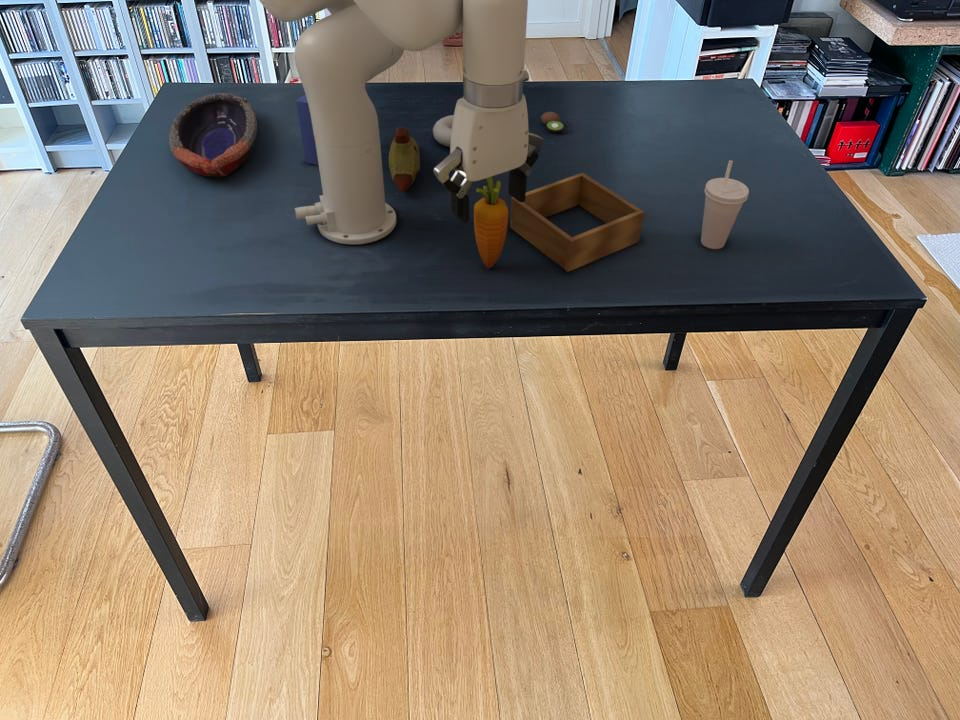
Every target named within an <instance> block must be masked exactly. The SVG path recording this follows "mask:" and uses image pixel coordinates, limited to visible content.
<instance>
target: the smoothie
mask: <svg viewBox="0 0 960 720" xmlns="http://www.w3.org/2000/svg"><path fill="white" fill-rule="evenodd" d="M732 166H733V160H731V159H729V160H728V163H727V167H726V170H725V174H724V177H716V178H711V179H709V180H708V181H707V182H706V184H705V188H704V190H703V191H704V194H705V198H704V207H703V217H702V226H701V235H700V243H701V245H702V246H704V247H705V248H707V249H711V250H720V249H722V248H724V247H725V245H726V242H727V240H728V238H729V236H730V233H731V231H732V229H733V227H734V225H735V222H736V220H737V218H738V215H739V213H740V211H741V209H742V207H743V204H744V203H745V202H746V201H748V199H749V194H750V190H749V189H750V188H748V186H747V185H746V184H745V183H743V182H741V181H739V180H736V179H733V178H729V177H730V174H731V170H732Z"/></svg>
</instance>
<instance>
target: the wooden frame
mask: <svg viewBox="0 0 960 720" xmlns="http://www.w3.org/2000/svg"><path fill="white" fill-rule="evenodd" d="M510 201H511V203H510V219H509V220H510V222H509V223H510V224H509V228H510V229H511V230H513V231H514V232H515V233H517V234H518V235H519V236H521V237H522V238H523V239H524V240H525V241H527V242H528V243H530V244H531V245H532V246H534V247H535V248H536V249H537V250H539V251H540V252H541V253H543V254H544V255H545V256H546V257H548V258H549V259H550V260H551V261H553V262H554V263H555V264H557V265H558V266H559V267H561V268H562V269H563V270H565V271H566V272H567V273H568V272H571V271H574V270H576V269H578V268H581V267H583V266H585V265H587V264H589V263H593V262H594V261H595V262H596V261H597V260H600V259H602V258H604V257H607V256H608V255H611V254H614V253H616V252H619V251H620V250H623V249H626V248H629V247H630V246H633V245H635V244H637V243H639V242H640V238H641V232H642V227H643V223H644V217H645V211H644V210H643V209H641V208H640V207H638V206H636V205H635V204H634V203H631V202H630V201H628V200H627V199H625V198H624V197H622V196H620V195H619V194H617V193H616V192H614V191H613V190H611V189H609V188H608V187H607V186H605V185H603V184H602V183H600V182H598V180H595V179H593V178H592V177H591V176H589V175H588V174H586V173H584V172H580V173H577V174H574V175H572V176H569V177H566V178H563V179H560V180H558V181H557V180H556V181H555V182H552V183H549V184H546V185H543V186H541V187H537V188H535V189H532V190H529V191H526V196H525V201H524V202H522V203H521V202H519V201H518V200H516V199H515V198H514V197H512V196H511V200H510ZM576 206H579V207H581V209H584V210H585V211H587V212H588V213H590V214H591V215H593V216H594V217H596V218H597V219H599V220H600V221H602V223H604V224H602V225H599V226H597V227H594V228H592V229H589V230H587V231H584V232H581V233H579V234H577V235H574V236H571V235H569V234H568V233H567V232H565V230H562V229H561V228H560V227H558V226H557V225H556V224H554V223H553V222H552V221H550V220H549V219H548V218H547V217H551V216H553V215H556V214H558V213H561V212H564V211H566V210H570V209H572V208H574V207H576Z"/></svg>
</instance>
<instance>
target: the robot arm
mask: <svg viewBox="0 0 960 720" xmlns="http://www.w3.org/2000/svg"><path fill="white" fill-rule="evenodd" d="M258 1H259V2H260V4H261V5H262V6H263V7H264V8H265V10H266V11H267V12H268V13H269V14H270V15H271V16H272V17H273V18H275V19H276V20H278V21H280V22H283V23H293V22H297V21H300V20H302V19H305V18H308V17H310V16H312V15H314V14H317V13H320V12H322V11H324V10H327V11H328V12H329V13H330V14H329V15H327V16H325V17H323V18H321V19H319V20H317V21H315V22H313V23H312V24H310V25H309V26H308V27H306V28H305V29H304V30H303V32H301V34H300V35H299V37H298V39H297V41H296V43H295V47H294V62H295V67H296V68H295V69H296V71H297V74H298V78H299V80H300V83H301V85H302V88H303V90H304V94H306V97H307V101H308V105H309V110H310V115H311V120H312V126H313V133H314V137H315V144H316V150H317V157H318V164H319V165H318V169H319V175H320V176H319V178H320V182H321V183H320V184H321V189H322V194H321V195H319V201H318V202H314V203H313V204H314V205H308V206H306V205H303V206H299V207H294V212H295V217H296V220H297V221H301V220H305V222H306V225H307V226H312V225H317V229H318V231H319V233H320V234H321V235H322V236H323V237H324V238H326V239H327V240H328V241H329V240H330V241H332V242H334V243H337V244H343V245H354V246H355V245H365V244H370V243H374V242H377V241H379V240H381V239H383V238H385V237H387V236H388V235H390V234H391V233H392V232H393V231H394V229H395V227H396V225H397V214H396V211H395V209H394V207H392V206H391V205H390V204H388V203H386V195H385V183H384V172H383V161H382V147H381V138H380V137H381V136H380V128H379V127H380V126H379V117H378V113H377V110H376V106H375V105H374V103H373V102H372V100H371V98H370V97H369V95H368V93H367V90H366V84H367V83H368V82H369V81H371V80H372V79H374V78H375V77H377V76H378V75H380V74H382V73H383V72H385V71H387V70H388V69H390V68H391V67H393V66H394V65H396V63H398V61H399V60H400V59H401V58H402V56H403V55H404V51H409V52H421V51H426V50H427V49H429V48H431V47H434V46H435V45H437V44H438V43H440V42H441V41H443V40H445V39H447V38H448V37H451V36H453V35H455V34H456V35H457V34H460V33H462V97H461V98H458V99H457V101H456V104H455V108H454V111H453V115H454V117H453V124H452V132H451V146H450V147H449V155H447V156H445V158H444V159H443V160H441V161H440V162H439V163H438V164H437V165H436V166H435V167H434V168H433V174H434V176H435V177H436V179H437V181H438V182H439V185H441V186H442V187H443V188H445V189H446V190H447V191H449V192H450V210H451V213H452V215H454V217H456V218H457V219H459V220H460V221H461V222H462V223H463V224H465V223H468V222H469V221H470V197H469V195H467V193H468V192H469V190H470V188H471V187H472V185H473V183H475V182H479V181H482V180H485V179H486V178H488V177H491V176H492V177H494V176H497V175H500V174H503V173H506V172H509V174H508V175H509V176H508V195H509V196H511V198H512V197H514V198H515V199H516V200H518V201H519V202H521V203H522V202H524V201H525V196H526V192H527V185H528V176H531V174H532V171H533V169H532V168H533V166H534V165H535V164H536V162H537V161H538V159H539V153H540V152H541V151H542V148H543V146H544V144H545V138H543V137H541V136H540V135H538V134H535V133H532V132H530V129H529V115H528V114H529V113H528V112H529V111H528V107H527V106H528V104H527V100H526V96H525V94H524V93H523V92H524V91H523V90H524V83H525V82H528V81H529V80H530V74H529V72H528V71H527V70H526V69H525V58H526V42H527V41H526V40H527V26H528V25H527V22H528V9H529V8H528V7H529V0H258ZM452 171H454V173H453V174H452V176H451V177H450V173H451V172H452ZM463 178H464V179H463ZM462 179H463V180H462ZM461 181H462V182H461ZM459 184H460V185H459Z"/></svg>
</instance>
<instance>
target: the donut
mask: <svg viewBox="0 0 960 720" xmlns="http://www.w3.org/2000/svg"><path fill="white" fill-rule="evenodd" d="M453 117H454V114H452V115H451V114H450V115H446V116H444V117H441V118H440V119H439V120H437V121H436V122H435V124H434V125H433V127H432V134H433V138H434V139H435V141H436V142H437V143H438V144H439V145H441V146H444V147H446V148H450V146H451V132H452V124H453Z"/></svg>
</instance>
